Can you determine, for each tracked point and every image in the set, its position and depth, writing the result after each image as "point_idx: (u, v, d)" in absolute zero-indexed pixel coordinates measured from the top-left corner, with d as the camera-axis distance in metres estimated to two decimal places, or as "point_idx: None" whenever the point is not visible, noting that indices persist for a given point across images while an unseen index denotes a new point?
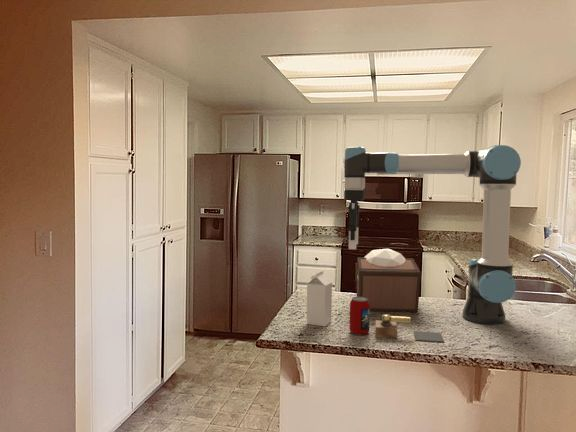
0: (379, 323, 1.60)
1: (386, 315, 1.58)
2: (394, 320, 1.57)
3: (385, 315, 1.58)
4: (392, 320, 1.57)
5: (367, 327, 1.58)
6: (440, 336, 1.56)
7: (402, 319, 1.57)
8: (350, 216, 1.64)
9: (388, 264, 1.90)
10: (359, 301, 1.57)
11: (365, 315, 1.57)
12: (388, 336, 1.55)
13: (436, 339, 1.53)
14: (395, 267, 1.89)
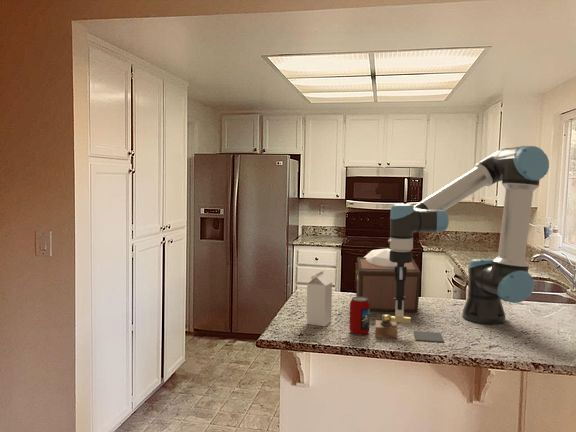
0: (379, 323, 1.60)
1: (386, 315, 1.58)
2: (394, 320, 1.57)
3: (385, 315, 1.58)
4: (392, 320, 1.57)
5: (367, 327, 1.58)
6: (440, 336, 1.56)
7: (402, 319, 1.57)
8: (398, 287, 1.54)
9: (387, 264, 1.90)
10: (359, 301, 1.57)
11: (365, 315, 1.57)
12: (388, 336, 1.55)
13: (436, 339, 1.53)
14: None
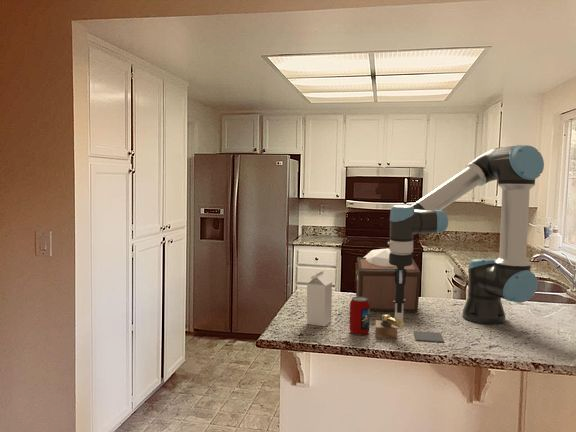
0: (379, 323, 1.60)
1: (386, 315, 1.58)
2: (389, 321, 1.56)
3: (385, 315, 1.59)
4: (387, 321, 1.56)
5: (367, 327, 1.58)
6: (440, 336, 1.56)
7: (394, 322, 1.53)
8: (397, 291, 1.50)
9: (387, 264, 1.90)
10: (359, 301, 1.57)
11: (365, 315, 1.57)
12: (388, 336, 1.55)
13: (436, 339, 1.53)
14: (395, 267, 1.89)
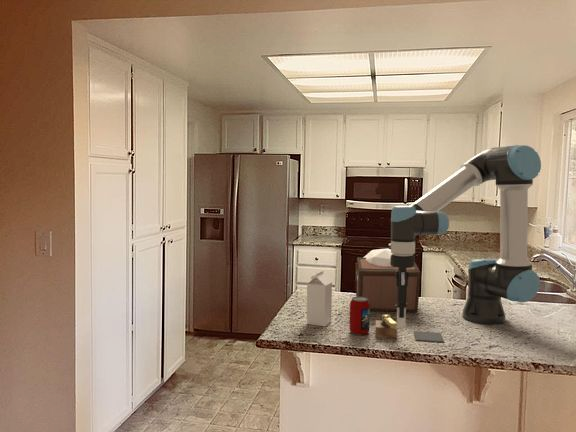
0: (379, 323, 1.60)
1: (386, 315, 1.58)
2: (386, 321, 1.56)
3: (385, 315, 1.59)
4: (385, 321, 1.56)
5: (367, 327, 1.58)
6: (440, 336, 1.56)
7: (388, 322, 1.53)
8: (399, 294, 1.45)
9: (387, 264, 1.90)
10: (359, 301, 1.57)
11: (365, 315, 1.57)
12: (388, 336, 1.55)
13: (436, 339, 1.53)
14: (395, 267, 1.89)
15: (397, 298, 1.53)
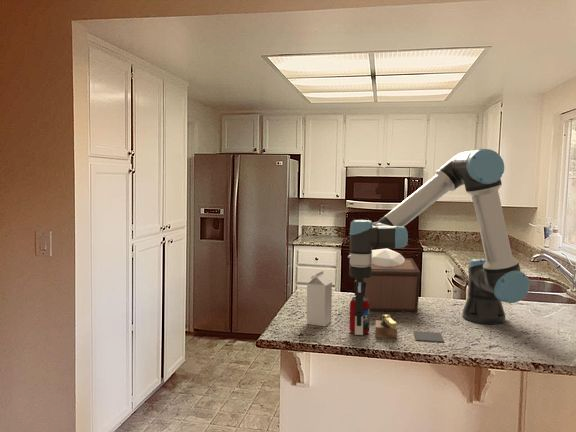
0: (379, 323, 1.60)
1: (386, 315, 1.58)
2: (386, 321, 1.56)
3: (385, 315, 1.59)
4: (385, 321, 1.56)
5: (367, 327, 1.58)
6: (440, 336, 1.56)
7: (388, 322, 1.53)
8: (356, 301, 1.54)
9: (387, 264, 1.90)
10: None
11: (365, 315, 1.57)
12: (388, 336, 1.55)
13: (436, 339, 1.53)
14: (395, 267, 1.89)
15: None
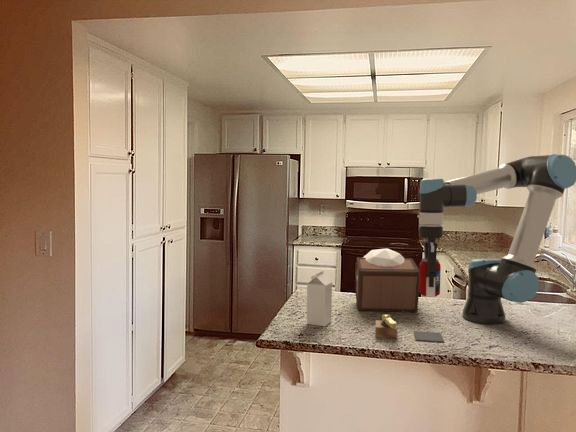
0: (379, 323, 1.60)
1: (386, 315, 1.58)
2: (386, 321, 1.56)
3: (385, 315, 1.59)
4: (385, 321, 1.56)
5: (438, 289, 1.53)
6: (440, 336, 1.56)
7: (388, 322, 1.53)
8: (429, 261, 1.48)
9: (387, 264, 1.90)
10: None
11: (437, 276, 1.52)
12: (388, 336, 1.55)
13: (436, 339, 1.53)
14: (394, 267, 1.89)
15: None
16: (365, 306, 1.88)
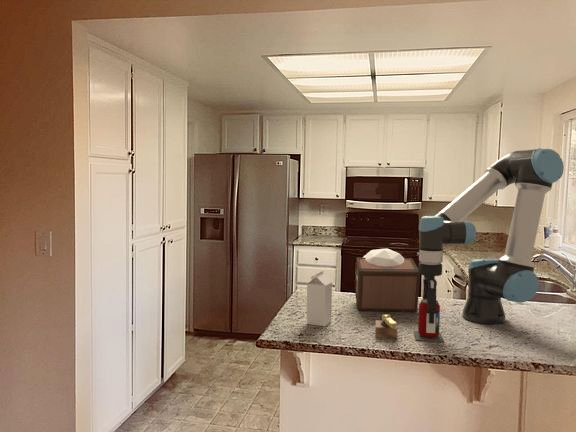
0: (379, 323, 1.60)
1: (386, 315, 1.58)
2: (386, 321, 1.56)
3: (385, 315, 1.59)
4: (385, 321, 1.56)
5: (438, 330, 1.54)
6: (440, 336, 1.56)
7: (388, 322, 1.53)
8: (429, 297, 1.48)
9: (387, 264, 1.90)
10: None
11: (436, 318, 1.53)
12: (388, 336, 1.55)
13: (436, 339, 1.53)
14: (394, 267, 1.89)
15: (423, 297, 1.64)
16: (365, 306, 1.88)
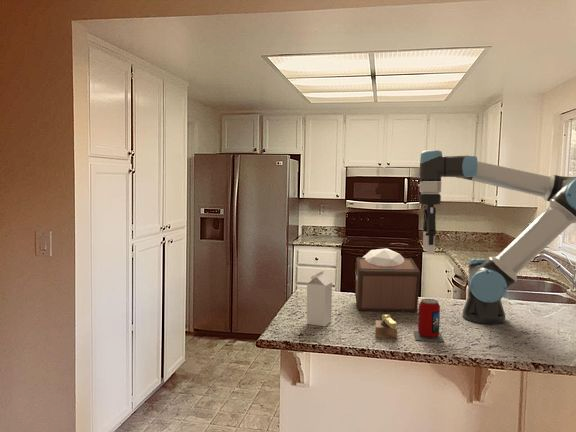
0: (379, 323, 1.60)
1: (386, 315, 1.58)
2: (386, 321, 1.56)
3: (385, 315, 1.59)
4: (385, 321, 1.56)
5: (438, 330, 1.54)
6: (440, 336, 1.56)
7: (388, 322, 1.53)
8: (429, 220, 1.62)
9: (387, 264, 1.90)
10: (430, 303, 1.53)
11: (436, 318, 1.53)
12: (388, 336, 1.55)
13: (436, 339, 1.53)
14: (394, 267, 1.89)
15: (423, 227, 1.79)
16: (365, 306, 1.88)
